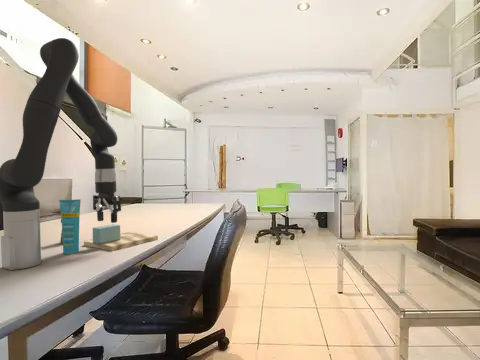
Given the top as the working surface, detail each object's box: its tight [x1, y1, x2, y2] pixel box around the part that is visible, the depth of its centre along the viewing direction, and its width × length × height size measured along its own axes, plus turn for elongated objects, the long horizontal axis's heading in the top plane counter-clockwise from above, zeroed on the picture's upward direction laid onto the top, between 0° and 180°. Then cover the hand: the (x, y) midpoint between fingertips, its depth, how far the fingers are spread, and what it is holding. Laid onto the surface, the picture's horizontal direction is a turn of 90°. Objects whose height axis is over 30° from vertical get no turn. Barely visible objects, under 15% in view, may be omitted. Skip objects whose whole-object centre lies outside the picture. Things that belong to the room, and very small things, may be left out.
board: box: [83, 231, 159, 252], centre depth 125 cm, size 22×18×2 cm
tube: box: [58, 198, 82, 255], centre depth 109 cm, size 7×5×19 cm, turn 98°
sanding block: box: [92, 223, 121, 245], centre depth 119 cm, size 9×4×6 cm, turn 149°
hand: (107, 221), depth 119 cm, fingers open, 8 cm apart
